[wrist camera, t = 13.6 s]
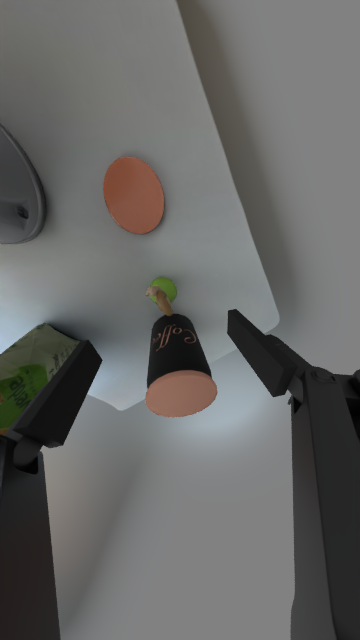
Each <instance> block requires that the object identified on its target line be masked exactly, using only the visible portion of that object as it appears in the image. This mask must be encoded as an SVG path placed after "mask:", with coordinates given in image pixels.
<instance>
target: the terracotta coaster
mask: <svg viewBox="0 0 360 640" xmlns="http://www.w3.org/2000/svg"><path fill="white" fill-rule="evenodd" d="M104 197H105V201H106V205H107V207H108V210H109V212H110V214H111V215H112V217H113V218H114V220H115V221H116V222H117V223H118V224H119V225H120V226H121V227H122V228H124V229H125V230H127V231H129V232H132V233H135V234H145V233H148V232H150V231H152V230H153V229H155V228H156V227H157V225H158V224H159V222H160V221H161V218H162V215H163V211H164V194H163V189H162V186H161V183H160V181H159V179H158V177H157V175H156V174H155V172H154V171H153V170H152V169H151V167H150V166H148V165H147V164H146V163H145V162H143V161H142V160H140V159H138V158H135V157H129V156H128V157H122V158H119V159H117V160H116V161H114V162H113V163H112V164H111V165H110V167H109V168H108V170H107V172H106V175H105V179H104Z"/></svg>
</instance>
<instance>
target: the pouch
mask: <svg viewBox="0 0 360 640" xmlns="http://www.w3.org/2000/svg"><path fill="white" fill-rule="evenodd" d="M79 343H80V341H78V340H73V339H71V338H69V337H67V336H65V335H63V334H62V333H60V332H58V331H56V330H54V329H53V328H52V327H51V326H49V325H48V324H46V323H43V324H41V325H38V326H37V327H35V328H34V329H32V330H31V331H30V332H28V333H27V334H26V335H24V336H23V337H22V338H20V339H19V340H18V341H17V342H15V343H14V344H13V345H12V346H10V347H9V348H8V349H6V350H5V351H4V352H3V353H2V354H0V434H1V435H4V434H5V433H6V432H7V431H8V429H9V428H10V427H11V426H12V424H13V423H14V422H15V420H16V419H17V418H18V417H19V415H20V414H21V413H22V412H23V410H24V409H25V408H26V407H28V404H29V403H30V402H31V400H33V398H34V397H35V395H36V394H37V393H38V391H39V390H40V389H41V388H43V387H44V386H45V385H46V384H47V383H49V381H50V380H51V379H52V377H53V376H54V375H55V374H56V372H57V371H58V370H59V368H60V367H61V366H62V365H63V363H64V362H65V361H66V359H67V358H68V357H69V355H70V354H71V353H72V352H73V350H74V349H75V348H76V346H77V345H78V344H79Z"/></svg>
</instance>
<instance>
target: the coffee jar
mask: <svg viewBox="0 0 360 640" xmlns="http://www.w3.org/2000/svg"><path fill="white" fill-rule="evenodd" d="M147 388H148V390H147V392H146V405H147V407H148V408H149V410H150V411H152V412H153V413H155V414H157V415H161V416H164V417H183V416H187V415H192V414H194V413H197V412H199V411H202V410H203V409H205V408H206V407H208V406H209V405H210V404H211V403H212V402H213V401H214V400H215V398H216V395H217V387H216V384H215V383H214V381H213V380H212V376H211V370H210V368H209V365H208V363H207V360H206V357H205V355H204V352H203V350H202V347H201V344H200V342H199V339H198V337H197V334H196V332H195V329H194V326H193V324H192V323H191V321H190V320H189V319H188V318H186V317H185V316H183V315H180V314H172V315H171V316H167V315H165V316H163V317H161V318H159V319H158V320H157V321H156V322H155V324H154V326H153V328H152V334H151V345H150V355H149V366H148V376H147Z"/></svg>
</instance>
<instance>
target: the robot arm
mask: <svg viewBox="0 0 360 640" xmlns="http://www.w3.org/2000/svg"><path fill="white" fill-rule="evenodd" d="M45 216H46V204H45V198H44V194H43V190H42V187H41V184H40V181H39V179H38V176H37V174H36V172H35V170H34V168H33V166H32V164H31V163H30V161H29V159H28V158H27V156H26V154H25V153H24V151H23V150H22V149H21V147H20V146H19V144H18V143H17V142H16V141H15V139H14V138H13V137H12V136H11V134H10V133H9V132H8V131H7V130H6V129H5V128H4V127H3V126H2V125H1V124H0V244H18V243H24V242H27V241H29V240H31V239H33V238H34V237H36V236H37V235H38V234H39V232H40V231H41V229H42V227H43V225H44V222H45ZM227 334H228V335H229V337H230V338H231V339H232V341H233V342H234V343H235V345H236V346H237V348H238V349H239V350H240V352H241V353H242V355H243V356H244V357H245V359H246V360H247V362H248V363H249V364H250V365H251V367H252V368H253V370H254V371H255V373H256V374H257V376H258V377H259V378H260V380H261V381H262V382H263V384H264V385H265V387H266V388H267V389H268V391H269V392H270V394H271V395H272V396H273V397H276V396H281V395H285V393H286V391H287V389H288V390H289V391H290V393H291V394H292V395H291V397H290V399H289V401H288V404H289V405H290V404H291V421H292V469H293V515H294V561H295V596H294V601H293V605H292V610H291V640H360V370H357V371H356V372H355V373H354V374H353V375H340V374H332V373H331V372H329V371H327V370H325V369H323V368H320V367H314V366H312V365H310V364H309V363H308V362H306V361H305V360H304V359H303V358H302V357H300V356H299V355H298V354H297V353H296V352H294V351H293V350H292V349H291V348H289V346H287V345H286V344H284V342H282V341H281V340H280V339H279V338H277V337H275V336H273V335H271V334H270V335H264V334H263V333H262V332H261V331H260V330H259V329H257V328H256V327H255V326H254V325H253V324H252V323H251V322H250V321H249V320H248V319H247V318H245V317H244V316H243V315H242V314H241V313H240V312H239V311H238V310H237V309H233V310H229V311H228V329H227ZM102 361H103V360H102V358H101V357H100V355H99V354H98V353H97V351H96V350H95V348H94V347H93V345H92V344H91V342H90V341H89V340H85V341H80V343H79V344H78V345H77V346H76V348H75V349H74V350H73V352H72V353H71V354H70V355H69V357H68V358H67V359H66V361H65V362H64V363H63V365H62V366H61V367H60V368H59V370H58V371H57V372H56V374H55V375H54V376H53V377H52V379H51V380H50V381H49V383H47V384H46V385H45V386H44V387H43V388H41V389H40V390H39V391H38V393H37V394H36V395H35V397H34V398H33V400H31V402H30V403H29V404H28V407H26V408H25V409H24V410H23V412H22V413H21V414H20V415H19V417H18V418H17V419H16V420H15V422H14V423H13V424H12V426H11V427H10V428H9V429H8V431H7V432H6V433H5V434H4V435H1V434H0V640H60V629H59V619H58V608H57V598H56V587H55V577H54V567H53V556H52V545H51V534H50V525H49V515H48V503H47V494H46V483H45V471H44V461H43V454H42V452H41V451H40V449H41V447H42V446H43V445H44V446H46V447H48V448H53V447H58V446H62V445H63V444H64V442H65V440H66V438H67V435H68V433H69V431H70V429H71V427H72V425H73V423H74V420H75V418H76V416H77V414H78V412H79V410H80V408H81V406H82V403H83V401H84V399H85V397H86V395H87V393H88V391H89V388H90V386H91V384H92V382H93V380H94V378H95V376H96V374H97V371H98V369H99V367H100V365H101V363H102Z"/></svg>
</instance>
